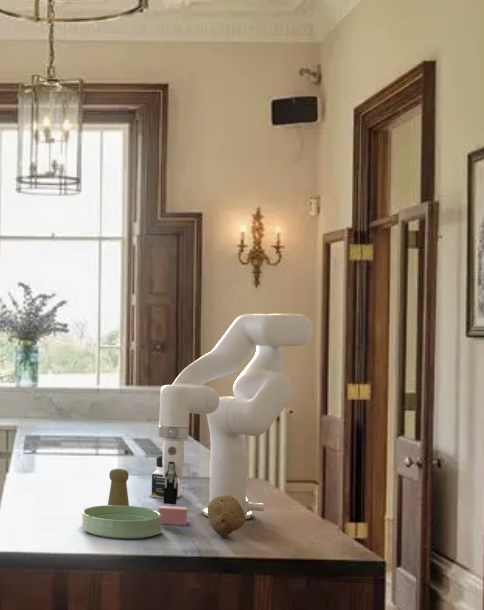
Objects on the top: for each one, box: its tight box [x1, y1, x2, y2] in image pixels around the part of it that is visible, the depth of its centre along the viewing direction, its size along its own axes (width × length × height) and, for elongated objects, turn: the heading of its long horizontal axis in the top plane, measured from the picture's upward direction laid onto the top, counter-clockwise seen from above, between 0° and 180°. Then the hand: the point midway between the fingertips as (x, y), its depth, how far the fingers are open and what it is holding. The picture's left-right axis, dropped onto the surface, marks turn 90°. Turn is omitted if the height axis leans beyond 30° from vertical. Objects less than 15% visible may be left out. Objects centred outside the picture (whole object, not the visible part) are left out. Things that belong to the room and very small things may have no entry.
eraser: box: [158, 505, 188, 526], centre depth 257 cm, size 7×3×4 cm, turn 79°
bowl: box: [81, 504, 162, 540], centre depth 246 cm, size 19×19×4 cm
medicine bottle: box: [151, 454, 182, 499], centre depth 295 cm, size 7×7×12 cm
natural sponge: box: [206, 495, 246, 538], centre depth 243 cm, size 9×9×10 cm
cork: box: [107, 468, 130, 506], centre depth 274 cm, size 6×6×11 cm
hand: (170, 500), depth 257 cm, fingers open, 9 cm apart
